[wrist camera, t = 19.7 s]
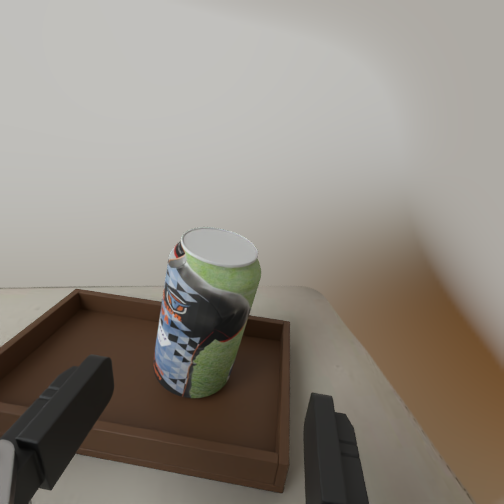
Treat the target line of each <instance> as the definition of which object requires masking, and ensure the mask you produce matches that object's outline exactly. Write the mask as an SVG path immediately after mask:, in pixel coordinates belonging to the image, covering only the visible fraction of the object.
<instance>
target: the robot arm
mask: <svg viewBox="0 0 504 504" xmlns="http://www.w3.org/2000/svg"><path fill="white" fill-rule="evenodd" d="M113 391H114V377H113V368H112V360H111V358H110V357H104V356H99V355H93V354H91V355H89V356H87V357H86V359H85V360H84V361H83V362H82V363H81V364H80V365H79V367H77V366H72V367H71V368H69V369H67V370H66V371H64V372H63V373H61V374H60V375H58V376H57V378H56V379H55V380H54V381H53V382H52V383H51V384H50V385H49V386H48V389H45V391H44V392H43V393H42V394H41V395H40V396H39V398H37V399H36V400H35V401H34V402H33V403H32V405H31V406H30V407H29V408H28V409H27V410H26V411H25V412H24V413H23V414H22V415H21V416H20V418H19V419H18V420H17V421H16V422H15V423H14V424H13V425H12V426H11V427H10V428H9V429H8V430H7V432H6V433H5V434H4V435H3V436H2V437H1V438H0V504H32V502H31V498H32V497H33V496H34V494H35V493H36V491H37V490H38V488H42V489H47V490H52V488H53V487H54V485H55V484H56V482H57V481H58V479H59V478H60V476H61V475H62V473H63V472H64V470H65V469H66V467H67V466H68V464H69V463H70V461H71V459H72V458H73V456H74V455H75V453H76V452H77V450H78V449H79V447H80V446H81V444H82V443H83V441H84V440H85V438H86V437H87V435H88V434H89V432H90V431H91V429H92V427H93V426H94V424H95V423H96V421H97V420H98V418H99V417H100V415H101V414H102V412H103V411H104V409H105V408H106V406H107V405H108V403H109V401H110V400H111V397H112V395H113ZM304 466H305V494H306V504H369V501H368V496H367V491H366V486H365V481H364V476H363V471H362V466H361V462H360V459H359V452H358V447H357V442H356V437H355V432H354V428H353V426H352V424H351V423H350V421H349V419H348V417H347V416H346V414H343V413H337V412H335V410H334V404H333V398H332V396H329V395H323V394H317V393H312V394H311V397H310V401H309V405H308V409H307V413H306V417H305V422H304Z"/></svg>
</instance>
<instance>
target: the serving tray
mask: <svg viewBox="0 0 504 504" xmlns="http://www.w3.org/2000/svg"><path fill="white" fill-rule="evenodd" d="M161 306H162V302H159V301H153V300H146V299H140V298H133V297H127V296H120V295H114V294H107V293H101V292H94V291H88V290H81V289H75V290H74V291H73V292H71V293H70V294H69V295H68V296H66V297H65V298H64V299H62V300H61V301H60V302H59V303H57V304H56V305H55V306H53V307H52V308H51V309H49V310H48V311H47V312H46V313H44V314H43V315H42V316H40V317H39V318H38V319H37V320H35V321H34V322H33V323H31V324H30V325H29V326H27V327H26V328H25V329H24V330H22V331H21V332H20V333H18V334H17V335H16V336H15V337H13V338H12V339H11V340H9V341H8V342H7V343H5V344H4V345H3V346H2V347H0V438H1V437H2V436H3V435H4V434H5V433H6V432H7V430H8V429H9V428H10V427H11V426H12V425H13V424H14V423H15V422H16V421H17V420H18V419H19V418H20V416H21V415H22V414H23V413H24V412H25V411H26V410H27V409H28V408H29V407H30V406H31V405H32V403H33V402H34V401H35V400H36V399H37V398H39V396H40V395H41V394H42V393H43V392H44V391H45V389H48V386H49V385H50V384H51V383H52V382H53V381H54V380H55V379H56V378H57V376H58V375H60V374H61V373H63V372H64V371H66V370H67V369H69V368H71V367H72V366H77V367H79V365H80V364H81V363H82V362H83V361H84V360H85V359H86V357H87V356H89V355H91V354H93V355H99V356H104V357H110V358H111V360H112V368H113V377H114V391H113V395H112V397H111V400H110V401H109V403H108V405H107V406H106V408H105V409H104V411H103V412H102V414H101V415H100V417H99V418H98V420H97V421H96V423H95V424H94V426H93V427H92V429H91V431H90V432H89V434H88V435H87V437H86V438H85V440H84V441H83V443H82V444H81V446H80V447H79V449H78V450H77V452H76V454H81V455H86V456H92V457H97V458H102V459H107V460H112V461H117V462H123V463H128V464H133V465H138V466H143V467H149V468H154V469H159V470H164V471H169V472H175V473H180V474H185V475H190V476H195V477H201V478H206V479H211V480H216V481H221V482H227V483H232V484H237V485H242V486H247V487H252V488H258V489H263V490H268V491H273V492H278V493H283V490H284V485H285V481H286V477H287V473H288V468H289V412H290V322H289V321H282V320H276V319H269V318H263V317H256V316H250V315H249V316H248V320H247V323H246V326H245V329H244V332H243V336H242V339H241V342H240V345H239V348H238V352H237V355H236V358H235V361H234V364H233V368H232V371H231V374H230V377H229V379H228V381H227V383H226V384H225V385H224V386H223V387H222V388H221V389H220V390H219V391H217V392H216V393H214V394H212V395H210V396H206V397H202V398H185V397H181V396H178V395H175V394H173V393H171V392H169V391H168V390H166V389H165V388H164V387H163V386H162V385H161V384H160V383H159V382H158V380H157V378H156V376H155V374H154V370H153V360H154V353H155V346H156V339H157V333H158V326H159V319H160V313H161Z"/></svg>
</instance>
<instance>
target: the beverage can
mask: <svg viewBox="0 0 504 504" xmlns="http://www.w3.org/2000/svg"><path fill="white" fill-rule="evenodd" d="M257 257H258V251H257V248H256V246H255V245H254V244H253V243H252V242H251V241H249V240H248V239H246V238H244V237H243V236H241V235H239V234H236V233H234V232H231V231H228V230H224V229H219V228H211V227H201V228H194V229H191V230H189V231H186V232H185V233H184V234H183V236H182V238H181V241H180V242H179V243H178V244H177V245H176V246H175V247H174V248H173V250H172V251H171V252H170V255H169V259H168V265H167V272H166V279H165V286H164V292H163V299H162V306H161V313H160V319H159V326H158V333H157V339H156V346H155V353H154V360H153V370H154V374H155V376H156V378H157V380H158V382H159V383H160V384H161V385H162V386H163V387H164V388H165V389H166V390H168V391H169V392H171V393H173V394H175V395H178V396H181V397H185V398H202V397H206V396H210V395H212V394H214V393H216V392H217V391H219V390H220V389H221V388H222V387H223V386H224V385H225V384H226V383H227V381H228V379H229V377H230V374H231V371H232V368H233V364H234V361H235V358H236V355H237V352H238V348H239V345H240V342H241V339H242V336H243V332H244V329H245V326H246V323H247V320H248V316H249V313H250V310H251V307H252V304H253V300H254V297H255V294H256V291H257V288H258V284H259V281H260V278H261V268H260V265H259V261H258V259H257Z"/></svg>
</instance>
